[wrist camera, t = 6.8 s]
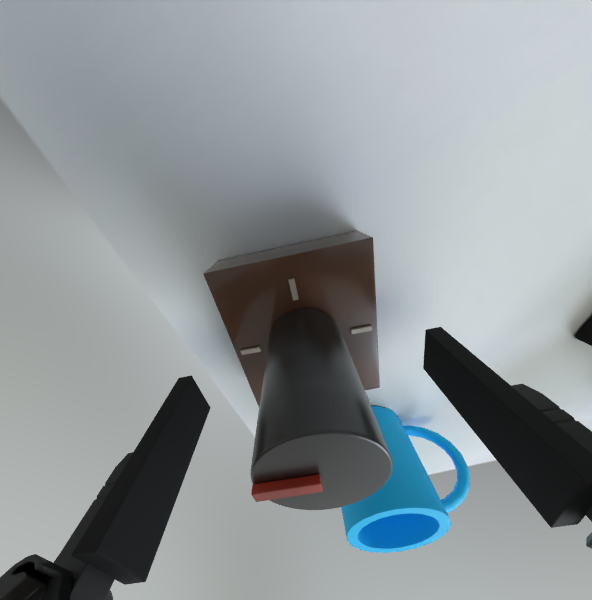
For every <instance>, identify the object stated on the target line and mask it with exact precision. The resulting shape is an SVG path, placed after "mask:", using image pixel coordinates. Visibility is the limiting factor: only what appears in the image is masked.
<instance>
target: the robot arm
mask: <svg viewBox="0 0 592 600" xmlns="http://www.w3.org/2000/svg"><path fill="white" fill-rule="evenodd" d="M424 370H425V371H426V372H427V373H428V375H429V376H430V377H431V378H432V380H433V381H434V382H435V383H436V385H437V386H438V387H439V388H440V390H441V391H442V392H443V393H444V395H445V396H446V397H447V398H448V400H449V401H450V402H451V403H452V405H453V406H454V407H455V408H456V410H457V411H458V412H459V413H460V415H461V416H462V417H463V418H464V420H465V421H466V422H467V423H468V425H469V426H470V427H471V428H472V430H473V431H474V432H475V433H476V435H477V436H478V437H479V438H480V440H481V441H482V442H483V443H484V445H485V446H486V447H487V448H488V450H489V451H490V452H491V453H492V455H493V456H494V457H495V458H496V460H497V461H498V462H499V463H500V464H501V466H502V467H503V468H504V469H505V471H506V472H507V473H508V474H509V476H510V477H511V478H512V479H513V481H514V482H515V483H516V485H517V486H518V487H519V488H520V489H521V491H522V492H523V493H524V494H525V496H526V497H527V498H528V499H529V501H530V502H531V503H532V504H533V506H534V507H535V508H536V509H537V511H538V512H539V513H540V514H541V516H542V517H543V518H544V519H545V521H546V522H547V523H548V524H549V526H550V527H559V526H566V525H575V524H578V523H579V522H580V521H581V520H582V518H583V517H584V516H585V515H586V516H587V517H588V518H589V519H590V520H591V521H592V432H591V431H590V430H589V429H588V428H586V427H585V426H584V425H582V424H581V423H580V422H578V421H575V420H574V418H573V417H572V416H571V415H569V414H568V413H567V412H565V411H564V410H561V409H560V408H559V406H557V405H556V404H555V403H554V402H552V401H551V400H550V399H548V398H547V397H546V396H544V395H543V394H542V393H540V392H538V391H536V390H534V389H532V388H530V387H528V386H526V385H524V384H519V385H513V386H510V385H509V384H508V383H507V382H506V381H504V380H503V379H502V378H501V377H500V376H499V375H497V374H496V373H495V372H494V371H493V370H491V369H490V368H489V367H488V366H487V365H485V364H484V363H483V362H482V361H481V360H479V359H478V358H477V357H476V356H475V355H473V354H472V353H471V352H470V351H469V350H467V349H466V348H465V347H464V346H463V345H461V344H460V343H459V342H458V341H457V340H456V339H454V338H453V337H452V336H451V335H450V334H448V333H447V332H446V331H445V330H444V329H442V328H441V327H438V328H433V329H428V330H426V335H425V351H424ZM209 410H210V406H209V405H208V403H207V401H206V399H205V398H204V396H203V394H202V393H201V391H200V389H199V387H198V386H197V384H196V382H195V381H194V379H193V377H192V376H187V377H183V378H179V379H178V381H177V382H176V384H175V386H174V387H173V389H172V390H171V392H170V393H169V395H168V397H167V398H166V400H165V402H164V403H163V405H162V407H161V408H160V410H159V411H158V413H157V415H156V416H155V418H154V420H153V421H152V423H151V425H150V426H149V428H148V429H147V431H146V433H145V434H144V436H143V438H142V440H141V441H140V443H139V444H138V446H137V447H136V449H135V451H134V452H133V453H128V454H127V455H126V456H125V458H124V459H123V460H122V461H121V462H120V463H119V464H118V465H117V466H116V467H115V469H114V470H113V472H112V474H111V475H110V477H109V478H108V480H107V481H106V483H105V486H103V488H102V489H101V491H100V492H99V494H98V495H97V499H96V500H94V502H93V503H92V505H91V506H90V508H89V509H88V511H87V512H86V514H85V516H84V517H83V519H82V520H81V522H80V523H79V525H78V526H77V528H76V529H75V531H74V533H73V534H72V536H71V537H70V539H69V540H68V542H67V543H66V545H65V547H64V548H63V550H62V551H61V553H60V554H59V556H58V557H57V558H56V560H55V561H54V563H52V562H50V561H48V560H46V559H44V558H42V557H40V556H38V555H36V554H35V555H31V556H28V557H26V558H24V559H23V560H21V561H20V562H18V563H16V564H15V565H14V566H13V567H12V568H10V569H9V570H8V571H7V572H6V573H5V574H4V575H3V576H1V577H0V600H113V597H112V593H111V591H110V588H111V586H112V583H113V581H114V579H115V580H117V581H119V582H121V583H123V584H132V583H139V582H145V581H146V579H147V576H148V573H149V571H150V568H151V565H152V563H153V560H154V557H155V555H156V552H157V549H158V547H159V544H160V541H161V538H162V536H163V533H164V531H165V528H166V525H167V522H168V520H169V517H170V514H171V512H172V509H173V506H174V504H175V501H176V498H177V496H178V493H179V490H180V487H181V485H182V482H183V479H184V477H185V474H186V471H187V469H188V466H189V464H190V461H191V458H192V455H193V452H194V450H195V447H196V445H197V442H198V439H199V436H200V434H201V431H202V429H203V426H204V423H205V420H206V418H207V415H208V413H209ZM586 545H587V546H588V547H590V548H592V533H591V534H590V535H589V536H588V537H587V543H586Z"/></svg>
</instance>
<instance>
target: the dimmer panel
mask: <svg viewBox="0 0 592 600" xmlns="http://www.w3.org/2000/svg"><path fill="white" fill-rule="evenodd" d="M204 276H205V279H206V281H207V284H208V286H209V288H210V291H211V293H212V296H213V298H214V300H215V303H216V305H217V308H218V310H219V312H220V315H221V317H222V320H223V322H224V324H225V327H226V329H227V331H228V334H229V336H230V339H231V341H232V343H233V346H234V348H235V351H236V353H237V355H238V358H239V360H240V363H241V365H242V367H243V370H244V372H245V375H246V377H247V379H248V382H249V384H250V387H251V389H252V391H253V394H254V396H255V399H256V401H257V403H258V406H259V407H260V400H261V392H262V385H263V378H264V371H265V363H266V356H267V349H268V342H269V335H270V331H271V329H272V327H273V325H274V324H275V323H276V322H277V321H278V320H279V319H280V318H281V317H282V316H284V315H285V314H287V313H289V312H292V311H295V310H299V309H314V310H319V311H322V312H324V313H326V314H328V315H329V316H331V317H332V318H333V319H334V320H335V321H336V322H337V324H338V326H339V328H340V330H341V333H342V335H343V338H344V340H345V343H346V345H347V348H348V350H349V353H350V355H351V358H352V360H353V363H354V365H355V368H356V370H357V373H358V375H359V378H360V380H361V383H362V385H363V388H364V390H368V389H374V388H379V387H380V384H379V361H378V339H377V317H376V295H375V273H374V251H373V237H370V236H368V235H366V234H364V233H362V232H359V231H352V232H348V233H343V234H338V235H334V236H329V237H324V238H320V239H315V240H311V241H306V242H301V243H297V244H292V245H288V246H283V247H278V248H274V249H269V250H264V251H260V252H255V253H251V254H246V255H241V256H237V257H232V258H227V259H223V260H219V261H217V262H216V263H215V264H214V265H213V266H212V267H211V268H209V269H208V270H207V271H206V272H205V273H204Z"/></svg>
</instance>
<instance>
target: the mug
mask: <svg viewBox="0 0 592 600" xmlns="http://www.w3.org/2000/svg"><path fill="white" fill-rule="evenodd" d="M371 407H372V410H373V412H374V415H375V417H376V420H377V422H378V425H379V427H380V430H381V432H382V435H383V437H384V440H385V442H386V445H387V447H388V450H389V452H390V455H391V457H392V463H393V466H392V472H391V475H390V477H389V479H388V481H387V482H386V483H385V484H384V485H383V486H382V487H381V488H380V489H379V490H378V491H376V492H375V493H374V494H372V495H370V496H369V497H367V498H365V499H363V500H361V501H358V502H356V503H353V504H350V505H346V506H342V513H343V519H344V525H345V531H346V536H347V541H348V542H349V543H350V544H351V545H352V546H353V547H355V548H358V549H360V550H364V551H369V552H382V553H386V552H398V551H404V550H409V549H414V548H417V547H420V546H423V545H426V544H429V543H431V542H433V541H435V540H437V539H439V538H440V537H441V536H443V535H444V534H445V533H446V532H447V531H448V530H449V527H450V526H451V522H450V518H449V516H448V514H447V513H448V512H451V511H453V510H454V509H455V508H456V507H457V506H458V505H460V504H461V503H462V502H463V501H464V500H465V497H466V495H467V492H468V489H469V486H470V481H469V470H468V467H467V464H466V462H465V460H464V458H463V456H462V454H461V453H460V452H459V451H458V450H457V449H456V448H455V446H454V445H453V444H452V443H451V442H450V441H448V440H447V439H445V438H444V437H442V436H441V435H439V434H438V433H435V432H433V431H430V430H428V429H425V428H421V427H415V426H403V425H402V423H401V421H400V419H399V417H398V416H397V415H396V414H395V413H394V412H393V411H391V410H389V409H386V408H384V407H378V406H371ZM408 435H411V436H417V437H422V438H425V439H427V440H429V441H432V442H434V443H435V444H437V445H438V446H440V447H441V448H442V449H444V450H445V451H446V453H447V454H448V455H449V456H450V457H451V458H452V460H453V462H454V465H455V467H456V469H457V482H456V485H455V488H454V490H453V491H452V492H451V493H450V494H449V495H448V496H446V497H445V498H444V499H442V500H440V498H439V496H438V494H437V492H436V490H435V488H434V486H433V484H432V482H431V480H430V479H429V476H428V475H427V473H426V471H425V469H424V467H423V465H422V463H421V461H420V459H419V457H418V455H417V453H416V451H415V449H414V447H413V445H412V443H411V441H410V439H409V437H408Z"/></svg>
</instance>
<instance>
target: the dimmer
mask: <svg viewBox="0 0 592 600" xmlns="http://www.w3.org/2000/svg"><path fill="white" fill-rule="evenodd" d="M392 466H393V463H392V457H391V455H390V452H389V450H388V447H387V445H386V442H385V440H384V437H383V435H382V432H381V430H380V427H379V425H378V422H377V420H376V417H375V415H374V412H373V410H372V407H371V405H370V402H369V400H368V397H367V395H366V392H365V390H364V388H363V385H362V383H361V380H360V378H359V375H358V373H357V370H356V368H355V365H354V363H353V360H352V358H351V355H350V353H349V350H348V348H347V345H346V343H345V340H344V338H343V335H342V333H341V330H340V328H339V326H338V324H337V322H336V321H335V320H334V319H333V318H332V317H331V316H329V315H328V314H326V313H324V312H322V311H319V310H314V309H299V310H295V311H292V312H289V313H287V314H285V315H284V316H282V317H281V318H280V319H279V320H278V321H277V322H276V323H275V324H274V325H273V327H272V329H271V331H270V335H269V342H268V349H267V356H266V363H265V371H264V378H263V385H262V392H261V400H260V407H259V414H258V422H257V429H256V436H255V444H254V452H253V458H252V465H251V479H252V483H253V486H252V496H253V498H254V499H255V501H256V502H258V501H265V500H270V501H272V502H274V503H277V504H279V505H282V506H286V507H290V508H295V509H304V510H324V509H332V508H338V507H342V506H346V505H350V504H353V503H356V502H358V501H361V500H363V499H365V498H367V497H369V496H370V495H372V494H374V493H375V492H376V491H378V490H379V489H380V488H381V487H382V486H383V485H384V484H385V483H386V482H387V481H388V479H389V477H390V475H391V472H392Z"/></svg>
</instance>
